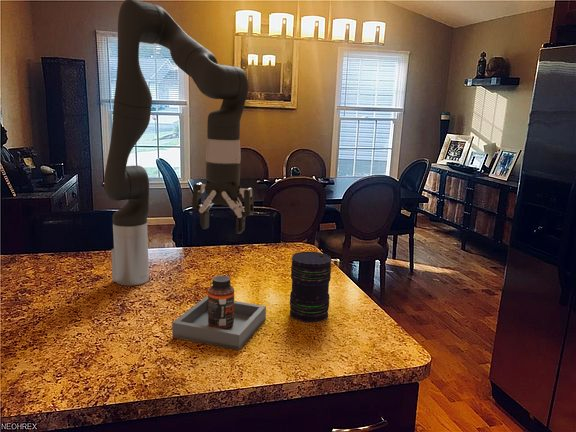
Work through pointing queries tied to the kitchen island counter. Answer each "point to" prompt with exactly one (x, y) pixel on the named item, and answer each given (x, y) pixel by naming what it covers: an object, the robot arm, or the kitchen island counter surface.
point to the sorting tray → (234, 337)
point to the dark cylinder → (310, 286)
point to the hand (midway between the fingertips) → (222, 230)
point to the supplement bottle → (221, 303)
